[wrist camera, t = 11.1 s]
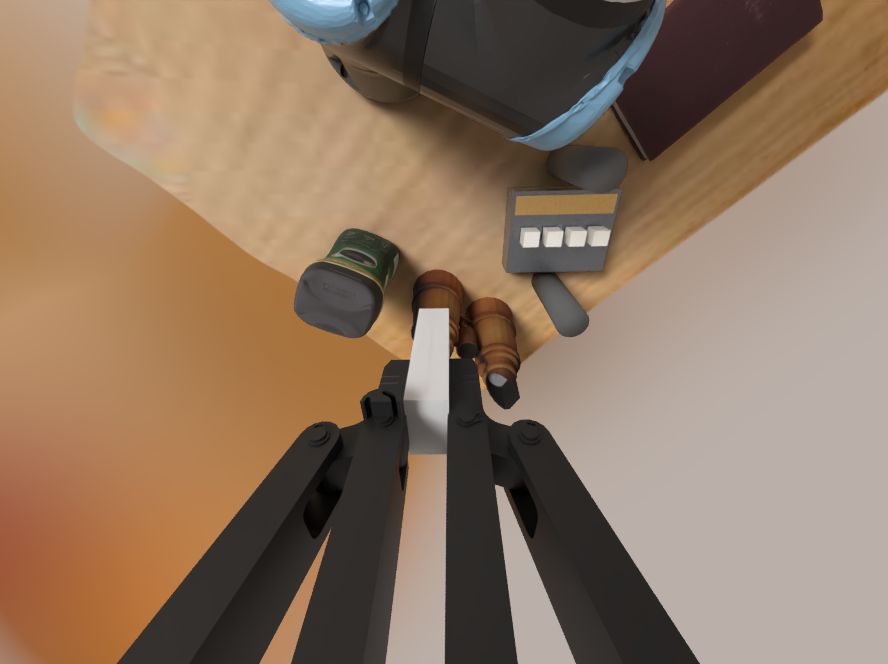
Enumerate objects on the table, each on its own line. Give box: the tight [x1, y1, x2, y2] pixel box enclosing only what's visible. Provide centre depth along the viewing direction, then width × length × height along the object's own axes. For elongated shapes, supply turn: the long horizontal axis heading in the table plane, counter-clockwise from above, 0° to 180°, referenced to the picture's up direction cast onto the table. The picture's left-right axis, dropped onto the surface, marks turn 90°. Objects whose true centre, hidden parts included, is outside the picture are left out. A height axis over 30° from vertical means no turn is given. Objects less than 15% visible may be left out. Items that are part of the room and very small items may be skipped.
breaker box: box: [502, 186, 622, 273], centre depth 45 cm, size 11×14×4 cm
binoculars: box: [411, 270, 521, 409], centre depth 46 cm, size 18×8×20 cm, turn 61°
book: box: [611, 0, 823, 161], centre depth 36 cm, size 12×19×3 cm, turn 134°
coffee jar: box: [294, 228, 399, 338], centre depth 42 cm, size 10×8×19 cm
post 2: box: [532, 272, 589, 337], centre depth 46 cm, size 4×4×14 cm
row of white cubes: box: [520, 226, 611, 248], centre depth 42 cm, size 2×11×2 cm, turn 91°
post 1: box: [547, 145, 627, 194], centre depth 37 cm, size 4×4×14 cm
